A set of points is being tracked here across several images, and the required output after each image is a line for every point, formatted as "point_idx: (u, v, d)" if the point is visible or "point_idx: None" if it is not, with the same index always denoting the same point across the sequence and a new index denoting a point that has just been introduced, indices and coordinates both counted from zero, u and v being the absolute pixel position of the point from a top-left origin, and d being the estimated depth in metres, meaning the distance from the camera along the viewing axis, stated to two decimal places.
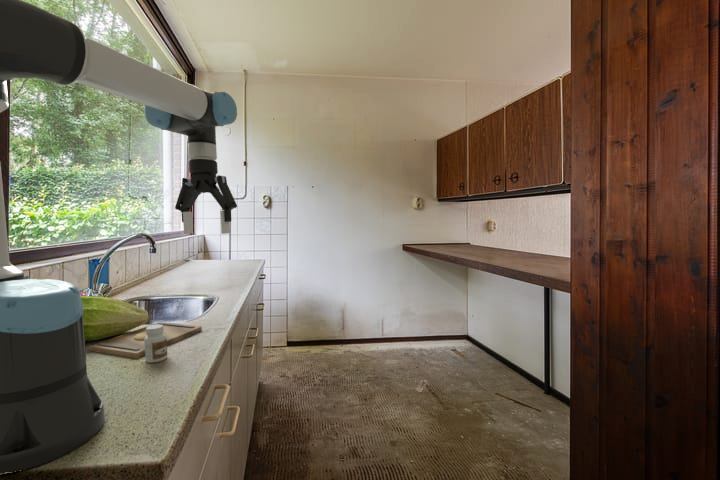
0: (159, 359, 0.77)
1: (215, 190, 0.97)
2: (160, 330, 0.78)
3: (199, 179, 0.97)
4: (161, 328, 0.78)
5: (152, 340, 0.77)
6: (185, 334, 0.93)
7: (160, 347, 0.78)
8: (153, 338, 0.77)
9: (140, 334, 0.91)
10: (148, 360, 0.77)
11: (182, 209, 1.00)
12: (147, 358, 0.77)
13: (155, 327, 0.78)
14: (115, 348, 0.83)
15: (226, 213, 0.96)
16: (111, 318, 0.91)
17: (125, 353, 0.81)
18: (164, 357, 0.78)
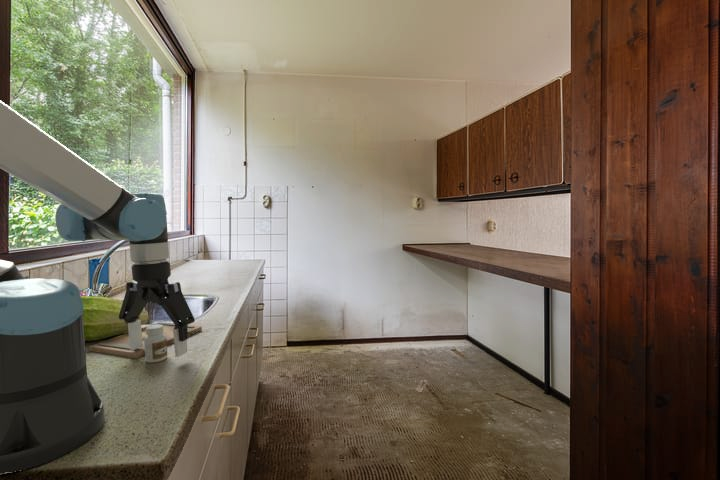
0: (159, 359, 0.77)
1: (166, 300, 0.77)
2: (160, 330, 0.78)
3: (146, 286, 0.77)
4: (161, 328, 0.78)
5: (152, 340, 0.77)
6: None
7: (160, 347, 0.78)
8: (153, 338, 0.77)
9: None
10: (148, 360, 0.77)
11: (127, 320, 0.80)
12: (147, 358, 0.77)
13: (155, 327, 0.78)
14: (115, 348, 0.83)
15: (180, 331, 0.76)
16: (111, 318, 0.91)
17: (125, 353, 0.81)
18: (164, 357, 0.78)
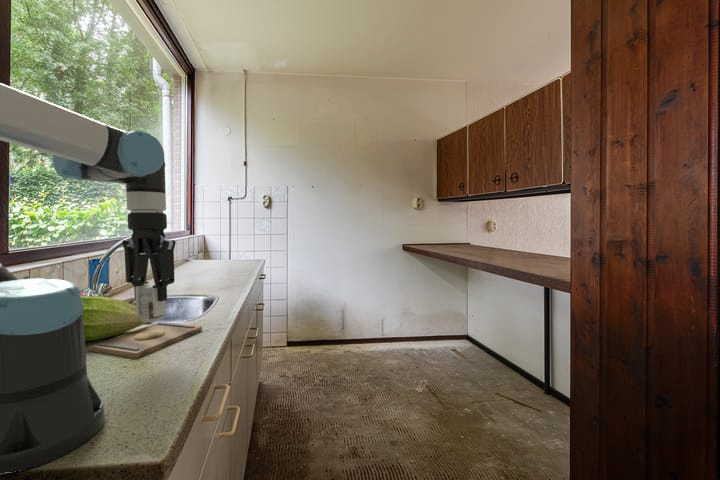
0: (155, 319, 0.77)
1: (156, 256, 0.76)
2: None
3: (140, 232, 0.76)
4: None
5: (149, 299, 0.76)
6: (185, 334, 0.93)
7: None
8: (149, 297, 0.76)
9: (140, 334, 0.91)
10: (144, 319, 0.76)
11: (134, 282, 0.77)
12: (143, 317, 0.76)
13: (151, 287, 0.77)
14: (115, 348, 0.83)
15: (159, 290, 0.76)
16: (111, 318, 0.91)
17: (125, 353, 0.81)
18: (160, 317, 0.78)
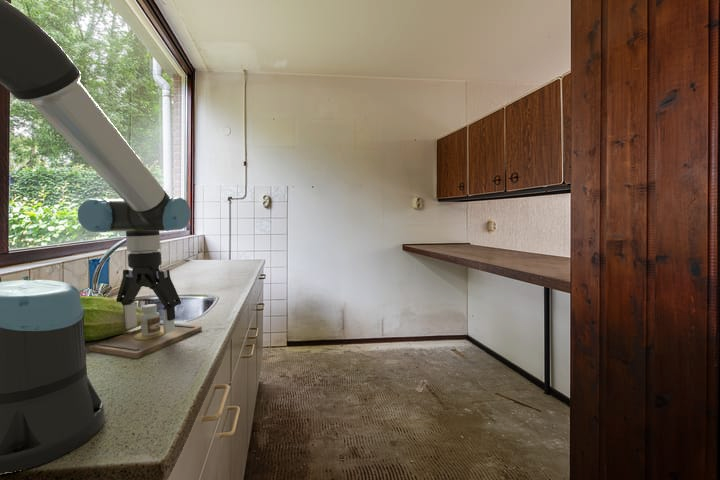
0: (153, 333, 0.90)
1: (157, 285, 0.89)
2: (154, 308, 0.91)
3: (140, 273, 0.90)
4: (155, 307, 0.91)
5: (147, 316, 0.90)
6: (185, 334, 0.93)
7: (154, 323, 0.91)
8: (148, 314, 0.90)
9: (140, 334, 0.91)
10: (144, 334, 0.90)
11: (123, 302, 0.92)
12: (143, 332, 0.90)
13: (150, 306, 0.91)
14: (115, 348, 0.83)
15: (168, 311, 0.88)
16: (111, 318, 0.91)
17: (125, 353, 0.81)
18: (157, 331, 0.92)
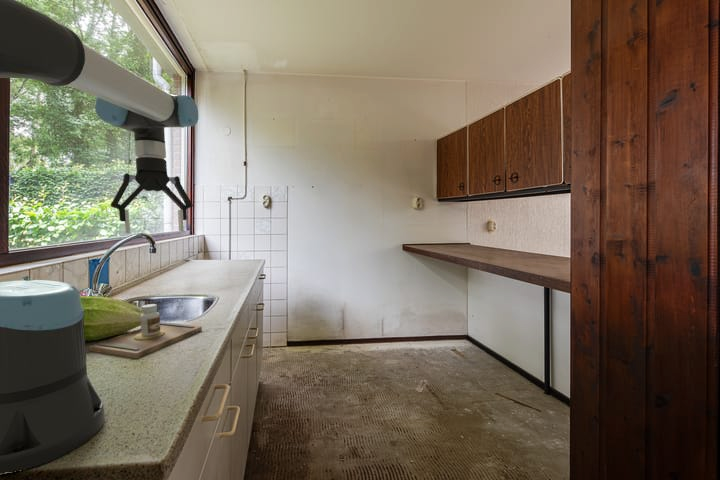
0: (153, 333, 0.90)
1: None
2: (154, 308, 0.91)
3: (150, 177, 0.96)
4: (155, 307, 0.91)
5: (147, 316, 0.90)
6: (185, 334, 0.93)
7: (154, 323, 0.91)
8: (148, 314, 0.90)
9: (140, 334, 0.91)
10: (144, 334, 0.90)
11: (124, 207, 0.93)
12: (143, 332, 0.90)
13: (150, 306, 0.91)
14: (115, 348, 0.83)
15: (184, 212, 1.03)
16: (111, 318, 0.91)
17: (125, 353, 0.81)
18: (157, 331, 0.92)
